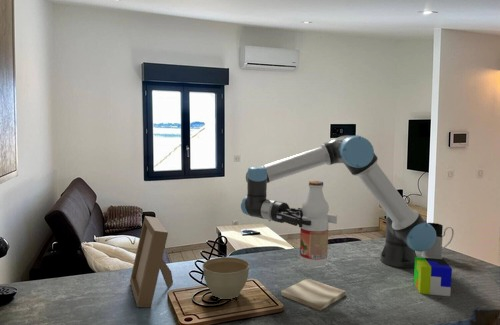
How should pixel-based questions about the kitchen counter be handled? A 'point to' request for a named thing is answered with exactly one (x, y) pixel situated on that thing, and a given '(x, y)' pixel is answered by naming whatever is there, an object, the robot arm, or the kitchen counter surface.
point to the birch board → (313, 294)
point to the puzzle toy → (432, 276)
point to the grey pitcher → (437, 243)
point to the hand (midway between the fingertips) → (328, 222)
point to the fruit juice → (313, 238)
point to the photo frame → (149, 262)
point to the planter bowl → (226, 276)
